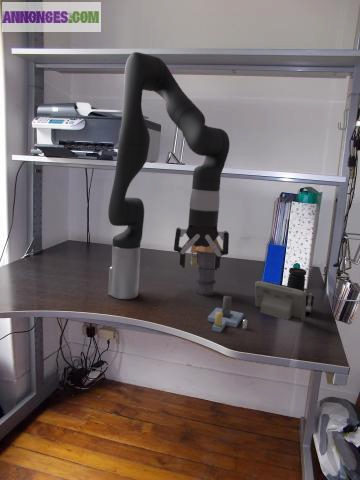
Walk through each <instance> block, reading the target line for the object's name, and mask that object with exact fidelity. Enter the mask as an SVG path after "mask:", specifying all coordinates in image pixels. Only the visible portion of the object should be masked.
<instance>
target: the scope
mask: <svg viewBox="0 0 360 480" xmlns="http://www.w3.org/2000/svg"><path fill="white" fill-rule="evenodd" d="M288 273H289V274H288V279H287V284H286V287H288V288H293V289H297V290H301V291H304V292H305V286H306V285H305V284H306V275H307V270H305V269H304V268H302V267H301V268H300V267H289V269H288ZM314 299H315V296H314V295H313V293H308V295H307V294H306V309H305V317H306V316H308V317H311V316H312V312H313V306H314V304H315V301H314Z"/></svg>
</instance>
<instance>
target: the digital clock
mask: <svg viewBox="0 0 360 480" xmlns="http://www.w3.org/2000/svg"><path fill="white" fill-rule="evenodd" d="M306 295H307V293H306V292H305V290H304V291H301V290H297V289H293V288H288V287H287V286H285V285H284V286H283V285H279V284H274V283H270V282H266V281H261V280H257V281H255V282H254V300H255V301H254V302H255V305H254V306H255V307H256V308H260V310H259V311H260V313H261V314H264V315H267V316H268V315H269V316H271V317H276V318H279V319H284V320H286V321H289V320H290V319H291V318H292V317H295V318H297V319H299V322H303V321H305V319H306V316H305V309H306Z"/></svg>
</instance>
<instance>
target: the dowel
mask: <svg viewBox="0 0 360 480" xmlns="http://www.w3.org/2000/svg"><path fill="white" fill-rule="evenodd" d="M247 326H248V319H246V318H242V326H241V328H242V330H247V328H248V327H247Z"/></svg>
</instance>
